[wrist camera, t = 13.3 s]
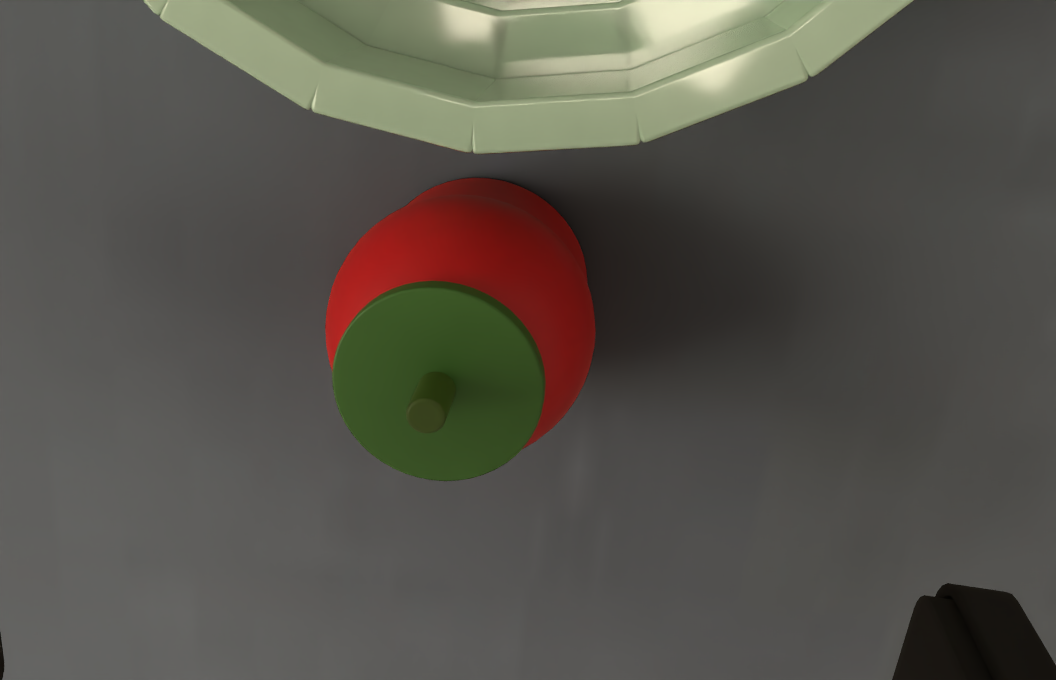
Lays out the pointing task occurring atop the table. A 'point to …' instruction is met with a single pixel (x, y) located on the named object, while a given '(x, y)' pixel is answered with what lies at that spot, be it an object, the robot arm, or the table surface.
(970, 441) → the table surface
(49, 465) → the table surface
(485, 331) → the strawberry
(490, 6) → the bowl
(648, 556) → the table surface
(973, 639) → the robot arm
